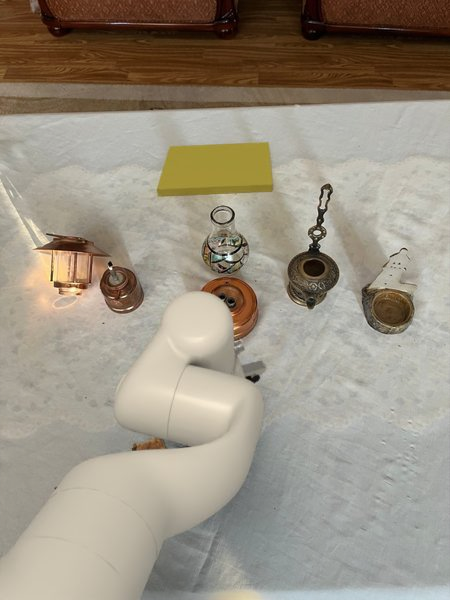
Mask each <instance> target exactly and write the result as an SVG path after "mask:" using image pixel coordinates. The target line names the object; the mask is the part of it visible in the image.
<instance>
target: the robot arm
mask: <svg viewBox="0 0 450 600" xmlns="http://www.w3.org/2000/svg"><path fill="white" fill-rule="evenodd" d="M242 352H245V347H244V344H243V343H242V342H241V340H238V341H236V342H235V326H234V319H233V314H232V312H231V310H230V308H229V307H228V305H227V304H226V302H225V301H223V299H222V298H220V297H219V296H217V295H215V294H213V293H210V292H208V291H203V290H202V291H201V290H194V291H188V292H183V293H182V294H179V295H177V296H176V297H174V298H173V299H172V300H171V301H170V302H168V304H167V305H166V306H165V308H164V310H163V311H162V313H161V316H160V321H159V326H158V327H157V329H156V331H155V332H154V333H153V335H152V337H151V338H150V339H149V341H148V342H147V344H146V346H145V347H144V348H143V350H142V351H141V352H140V354H139V355H138V357H137V358H136V359H135V361H134V363H133V364H132V365H131V367H130V368H129V370H127V371H125V373H123V375H122V377H121V378H120V380H119V382H118V384H117V386H116V388H115V392H114V397H113V416H114V419H115V421H116V422H117V424H119V426H120V427H122V428H124V429H126V430H128V431H130V432H133V433H137V434H140V435H145V436H148V437H152V438H154V437H156V438H160V439H162V440H163V441H164V440H165V441H167V442H172V443H176V444H180V445H183V446H186V447H178V448H166V449H154V450H138V451H132V450H127V451H120V452H114V453H106V454H102V455H98V456H94V457H91V458H88V459H86V460H83V461H82V462H80V463H78V464H76V465H75V466H73V467H72V468H71V469H70V470H69V471H68V472H67V473H66V474H65V475H64V477H63V478H62V479H61V481H60V483H59V484H58V485H57V486H58V487H57V486H56V487H57V488H56V489H54V491H52V494H51V495H50V496H49V497H48V499H47V500H46V501H45V503H44V504H43V506H42V507H41V509H40V510H39V511H38V512H37V514H36V515H35V517H33V519H32V520H31V522H30V523H29V524H28V526H27V527H26V528H25V530H24V531H23V533H22V534H21V535H20V536H19V538H17V540H16V542H14V545H13V546H12V547H11V548H10V549H9V550H8V552H7V553H6V554H5V555H4V556H1V557H0V600H141V597H142V595H143V592H144V590H145V587H146V585H147V583H148V580H149V579H150V576H151V573H152V571H153V569H154V567H155V565H156V562H157V560H158V557H159V554H160V552H161V549H162V547H163V544H164V542H165V540H167V539H170V538H172V537H174V536H177V535H179V534H181V533H184V532H186V531H188V530H190V529H192V528H194V527H196V526H198V525H200V524H202V523H203V522H204V521H206V520H208V519H209V518H211V517H212V516H213V515H215V514H216V513H217V512H220V510H221V509H223V508H224V507H225V506H226V505H227V504H228V503H229V502H230V501H231V500H232V499H233V498H235V496H236V495H237V493H239V491H240V489H241V488H242V486H243V484H244V483H245V481H246V479H247V476H248V475H249V471H250V469H251V466H252V463H253V460H254V456H255V453H256V449H257V445H258V442H259V439H260V434H261V431H262V426H263V423H264V417H265V400H264V395H263V393H262V391H261V389H260V388H259V387H258V386H257V385H256V383H258V382H259V381H260V379H261V376H262V375H263V373H264V372H265V371H266V370H267V365H265V362H264V361H263V360H258V361H257V360H256V361H254V362H249V363H246V364H241V361H240V359H239V356H240V354H241V353H242ZM187 446H190V447H187Z"/></svg>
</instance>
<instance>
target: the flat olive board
mask: <svg viewBox="0 0 450 600" xmlns="http://www.w3.org/2000/svg"><path fill="white" fill-rule="evenodd" d="M272 173H273V172H272V162H271V151H270V142H269V141H263V142H261V141H260V142H240V143H238V142H237V143H236V142H235V143H218V144H217V143H216V144H215V143H213V144H193V145H191V144H190V145H171V146H170V145H169V147H168V151H167V154H166V157H165V160H164V164H163V167H162V170H161V174H160V177H159V181H158V183H157V187H156V192H157V197H178V196H199V195H224V194H226V195H227V194H247V193H248V194H249V193H271V192H273V189H274V188H273V187H274V184H273V183H274V182H273V174H272Z"/></svg>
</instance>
